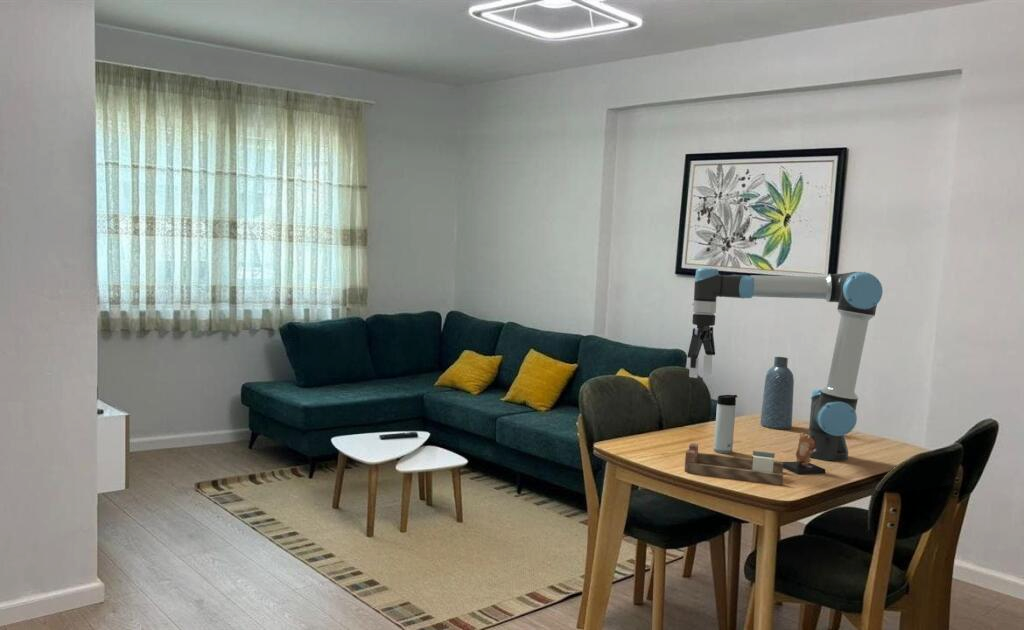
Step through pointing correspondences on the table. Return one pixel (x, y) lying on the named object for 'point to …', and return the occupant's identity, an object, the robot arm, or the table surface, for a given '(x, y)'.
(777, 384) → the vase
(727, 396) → the travel mug
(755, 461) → the block
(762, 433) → the table surface
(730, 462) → the guide
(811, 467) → the figurine
